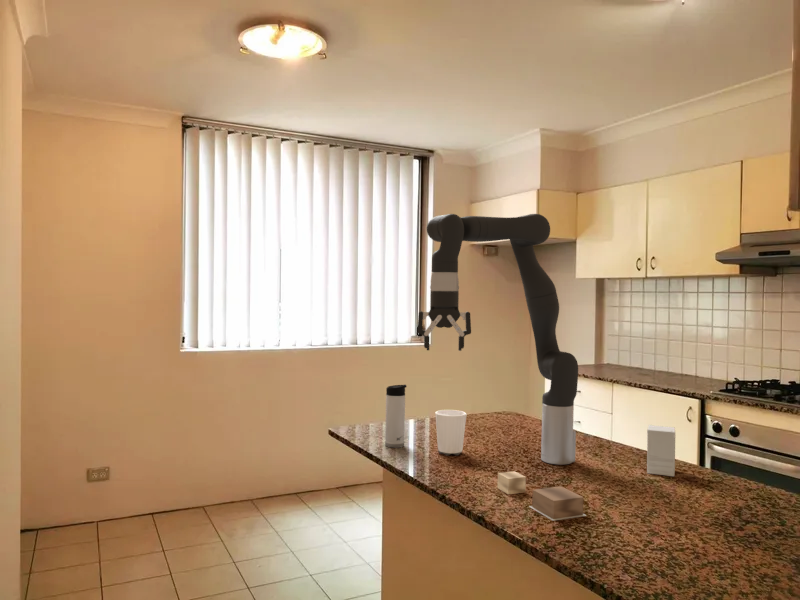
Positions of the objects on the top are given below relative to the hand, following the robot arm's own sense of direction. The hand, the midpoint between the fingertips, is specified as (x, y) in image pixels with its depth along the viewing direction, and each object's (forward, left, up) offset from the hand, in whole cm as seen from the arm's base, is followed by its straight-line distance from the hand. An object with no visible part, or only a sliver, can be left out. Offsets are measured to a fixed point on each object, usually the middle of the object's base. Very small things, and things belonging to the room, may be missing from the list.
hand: (443, 350), depth 162 cm
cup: (-15, -24, -35) cm, 45 cm away
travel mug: (-2, -38, -35) cm, 52 cm away
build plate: (-17, +29, -35) cm, 48 cm away
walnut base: (-14, +32, -34) cm, 49 cm away
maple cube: (-12, +16, -35) cm, 40 cm away
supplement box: (-64, +13, -35) cm, 74 cm away
